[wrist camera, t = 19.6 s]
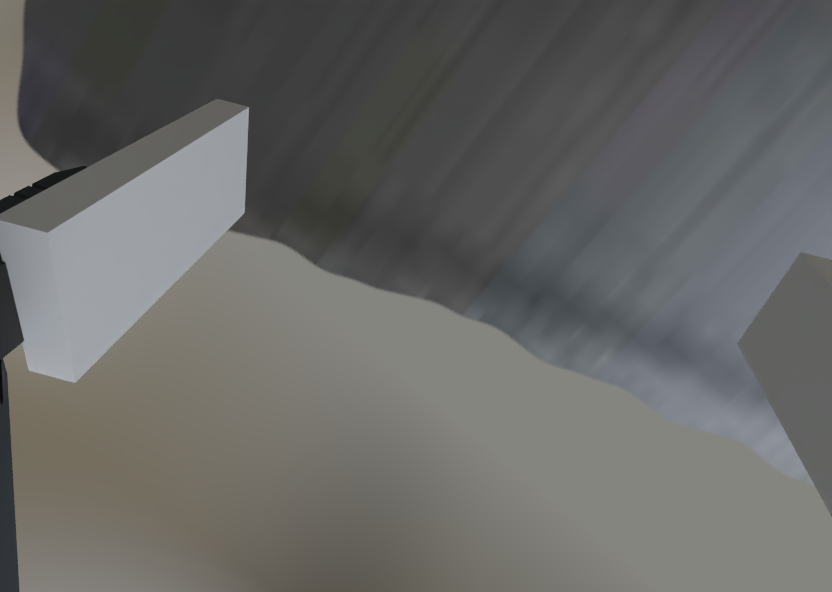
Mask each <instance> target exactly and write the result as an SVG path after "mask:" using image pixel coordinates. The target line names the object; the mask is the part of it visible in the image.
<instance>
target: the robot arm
mask: <svg viewBox="0 0 832 592" xmlns="http://www.w3.org/2000/svg"><path fill="white" fill-rule="evenodd" d="M248 117H249V107H247V106H243V105H239V104H235V103H231V102H227V101H224V100H220V99H216V100H214V101H212V102H210V103H208V104H206V105H204V106H202V107H201V108H199V109H197V110H195V111H193V112H191V113H189V114H187V115H185V116H184V117H182V118H180V119H178V120H176V121H174V122H172V123H170V124H169V125H167V126H165V127H163V128H161V129H159V130H157V131H155V132H153V133H152V134H150V135H148V136H146V137H144V138H142V139H140V140H138V141H136V142H135V143H133V144H131V145H129V146H127V147H125V148H123V149H121V150H119V151H118V152H116V153H114V154H112V155H110V156H108V157H106V158H104V159H102V160H101V161H99V162H97V163H95V164H93V165H91V166H89V167H86V166H82V167H77V168H73V169H69V170H64V171H60V172H55V173H53V174H51V175H49V176H47V177H45V178H43V179H41V180H39V181H37V182H35V183H33V184H32V187H30V186H27V187H25V188H23V189H21V190H19V191H17V192H15V193H14V196H10V195H9V196H8V197H5V198H3V199H1V200H0V592H19V577H18V559H17V542H16V524H15V506H14V490H13V489H14V488H13V471H12V453H11V436H10V418H9V399H8V381H7V372H6V368H5V365H4V361H3V357H5V355H7V354H8V353H10V352H11V351H12V350H13V349H14V348H16V347H17V346H18V345H19V344H21V343H22V344H23V348H24V352H25V356H26V360H27V364H28V369H29V371H33V372H36V373H40V374H44V375H47V376H51V377H55V378H58V379H62V380H66V381H70V382H73V383H75V382H76V381H77V380H78V379H79V378H80V377H81V376H82V375H83V374H84V373H85V372H86V371H87V370H88V369H89V368H90V367H91V366H92V365H93V364H94V363H95V362H96V361H97V360H98V359H99V358H100V357H101V356H102V355H103V354H104V353H105V352H106V351H107V350H108V349H109V348H110V347H111V346H112V345H113V344H114V343H115V342H116V341H117V340H118V339H119V338H120V337H121V336H122V335H123V334H124V333H125V332H126V331H127V330H128V329H129V328H130V327H131V326H132V325H133V324H134V323H135V322H136V321H137V320H138V319H139V318H140V317H141V316H142V315H143V314H144V313H145V312H146V311H147V310H148V309H149V308H150V307H151V306H152V305H153V304H154V303H155V302H156V301H157V300H158V299H159V298H160V297H161V296H162V295H163V294H164V293H165V292H166V291H167V290H168V289H169V288H170V287H171V286H172V285H173V284H174V283H175V282H176V281H177V280H178V279H179V278H180V277H181V276H182V275H183V274H184V273H185V272H186V271H187V270H188V269H189V268H190V267H191V266H192V265H193V264H194V263H195V262H196V261H197V260H198V259H199V258H200V257H201V256H202V255H203V254H204V253H205V252H206V251H207V250H208V249H209V248H210V247H211V246H212V245H213V244H214V243H215V242H216V241H217V240H218V239H219V238H220V237H221V236H222V235H223V234H224V233H225V232H226V231H227V230H228V229H229V228H230V227H231V226H232V225H233V224H234V223H235V222H236V221H237V220H238V219H239V218H240V217H241V216H242V215H243V214H244V213H245V189H246V165H247V141H248ZM737 344H738V346H739V347H740V349H741V351H742V353H743V355H744V357H745V358H746V360H747V362H748V364H749V366H750V368H751V369H752V371H753V373H754V375H755V377H756V379H757V380H758V382H759V384H760V386H761V388H762V390H763V391H764V393H765V395H766V397H767V399H768V401H769V402H770V404H771V406H772V408H773V410H774V412H775V413H776V415H777V417H778V419H779V421H780V423H781V424H782V426H783V428H784V430H785V432H786V434H787V435H788V437H789V439H790V441H791V443H792V444H793V446H794V448H795V450H796V452H797V454H798V455H799V457H800V459H801V461H802V463H803V465H804V466H805V468H806V470H807V472H808V474H809V476H810V477H811V479H812V481H813V483H814V485H815V487H816V488H817V490H818V492H819V494H820V496H821V497H822V499H823V501H824V503H825V505H826V506H827V508H828V510H829V512H830V514H831V516H832V260H829V259H825V258H821V257H817V256H813V255H810V254H806V253H802V252H801V253H800V254H799V256H798V257H797V259H796V260H795V261H794V263H793V264H792V266H791V267H790V269H789V270H788V272H787V273H786V274H785V276H784V277H783V279H782V280H781V282H780V283H779V284H778V286H777V287H776V289H775V290H774V292H773V293H772V294H771V296H770V297H769V299H768V300H767V302H766V303H765V305H764V306H763V307H762V309H761V310H760V312H759V313H758V315H757V316H756V317H755V319H754V320H753V322H752V323H751V325H750V326H749V328H748V329H747V330H746V332H745V333H744V335H743V336H742V338H741V339H740V340H739V342H738V343H737Z"/></svg>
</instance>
